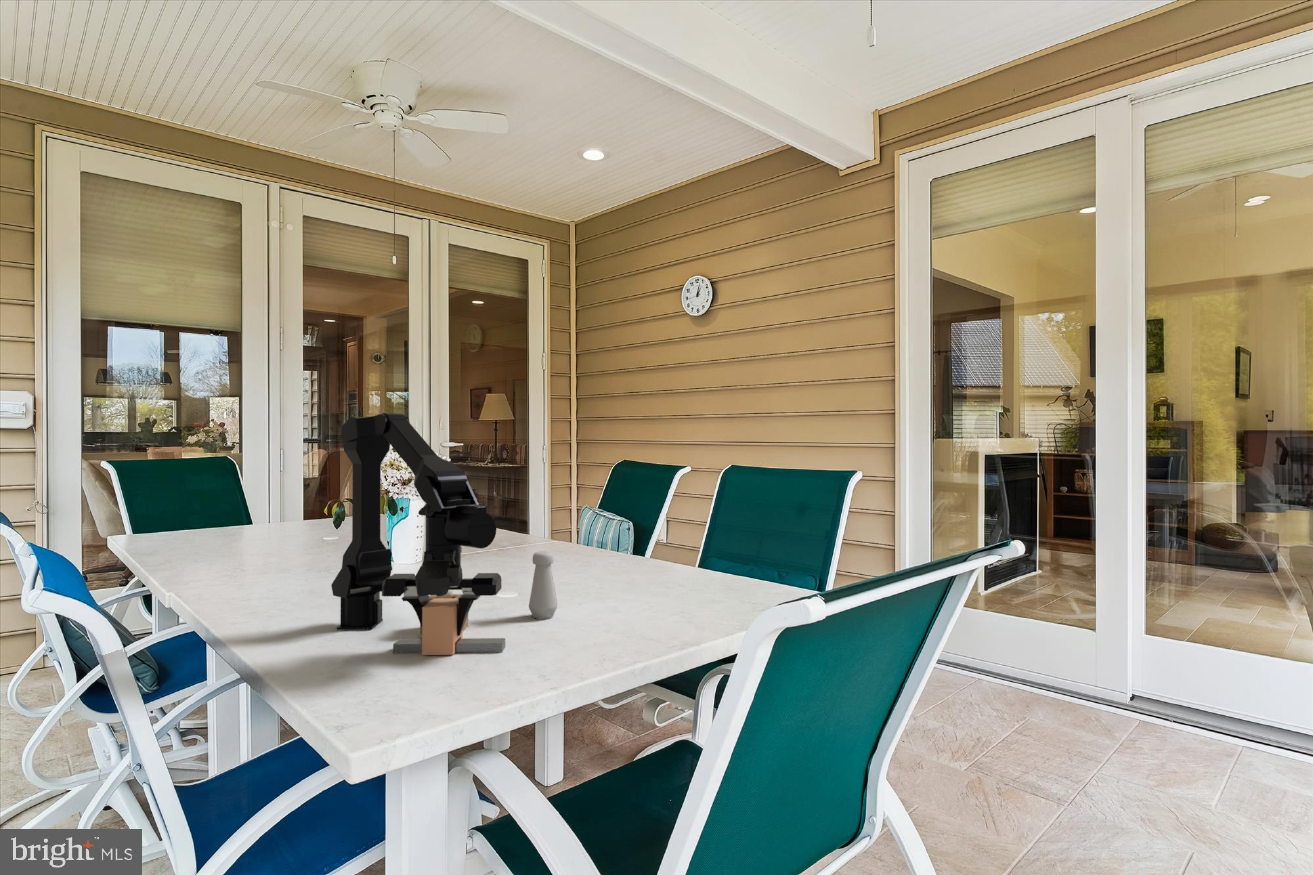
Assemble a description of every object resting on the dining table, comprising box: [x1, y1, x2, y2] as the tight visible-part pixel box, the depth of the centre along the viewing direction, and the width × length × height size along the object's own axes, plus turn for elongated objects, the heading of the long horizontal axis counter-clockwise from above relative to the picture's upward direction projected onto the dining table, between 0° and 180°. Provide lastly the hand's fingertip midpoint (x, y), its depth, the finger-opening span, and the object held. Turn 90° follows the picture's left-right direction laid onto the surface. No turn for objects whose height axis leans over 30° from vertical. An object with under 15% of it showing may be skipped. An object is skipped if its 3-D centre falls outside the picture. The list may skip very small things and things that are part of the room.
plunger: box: [437, 590, 454, 598], centre depth 129 cm, size 3×3×3 cm
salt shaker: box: [528, 550, 559, 620], centre depth 140 cm, size 6×6×13 cm
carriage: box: [421, 598, 464, 656], centre depth 117 cm, size 5×7×8 cm
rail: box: [392, 637, 506, 654], centre depth 117 cm, size 18×3×2 cm, turn 92°
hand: (442, 635), depth 117 cm, fingers closed on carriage, 5 cm apart
